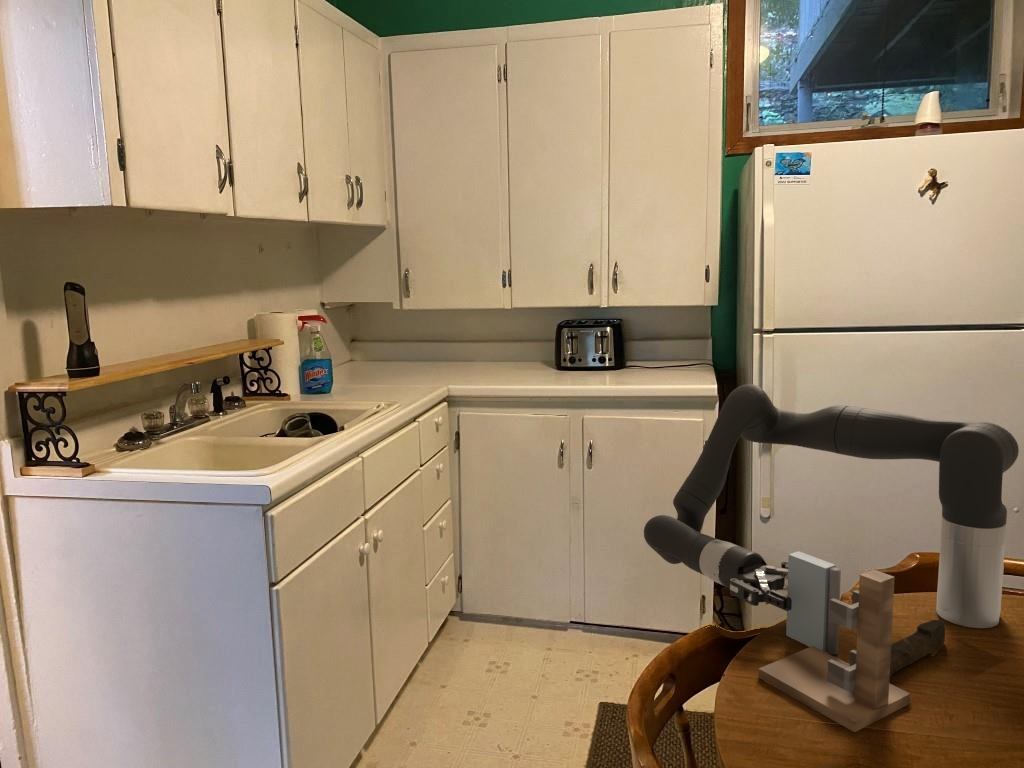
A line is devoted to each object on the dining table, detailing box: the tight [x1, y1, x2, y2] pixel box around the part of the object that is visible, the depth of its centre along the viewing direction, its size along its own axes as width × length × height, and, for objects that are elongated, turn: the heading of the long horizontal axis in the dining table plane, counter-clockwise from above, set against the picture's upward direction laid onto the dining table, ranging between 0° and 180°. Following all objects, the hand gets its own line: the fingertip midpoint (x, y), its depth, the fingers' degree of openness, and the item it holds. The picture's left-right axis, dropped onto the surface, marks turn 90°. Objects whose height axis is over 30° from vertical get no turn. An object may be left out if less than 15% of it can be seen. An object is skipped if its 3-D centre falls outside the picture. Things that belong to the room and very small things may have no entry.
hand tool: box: [890, 619, 946, 679], centre depth 117 cm, size 19×4×5 cm, turn 120°
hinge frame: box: [758, 569, 911, 733], centre depth 109 cm, size 12×16×20 cm
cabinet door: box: [786, 550, 842, 656], centre depth 122 cm, size 2×9×14 cm, turn 31°
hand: (808, 598), depth 123 cm, fingers open, 8 cm apart
